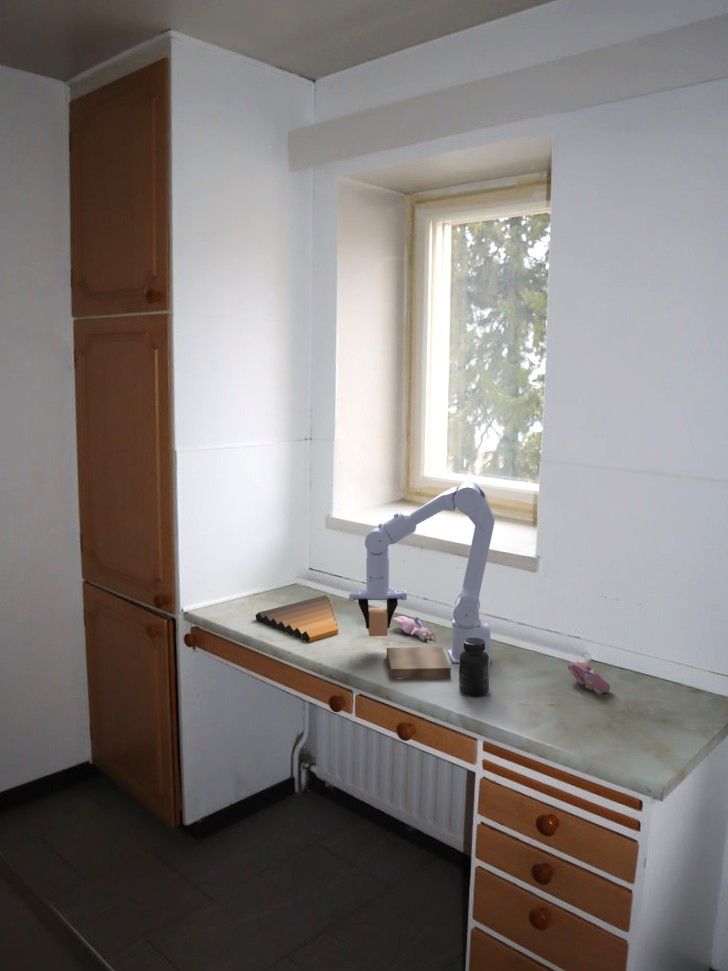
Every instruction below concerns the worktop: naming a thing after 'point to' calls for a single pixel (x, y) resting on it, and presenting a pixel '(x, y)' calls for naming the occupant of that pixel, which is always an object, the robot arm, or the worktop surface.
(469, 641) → the supplement bottle
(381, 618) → the rust block
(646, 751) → the worktop surface
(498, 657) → the worktop surface
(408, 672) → the walnut base board
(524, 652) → the worktop surface
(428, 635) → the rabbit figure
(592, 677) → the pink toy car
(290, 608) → the pan flute
